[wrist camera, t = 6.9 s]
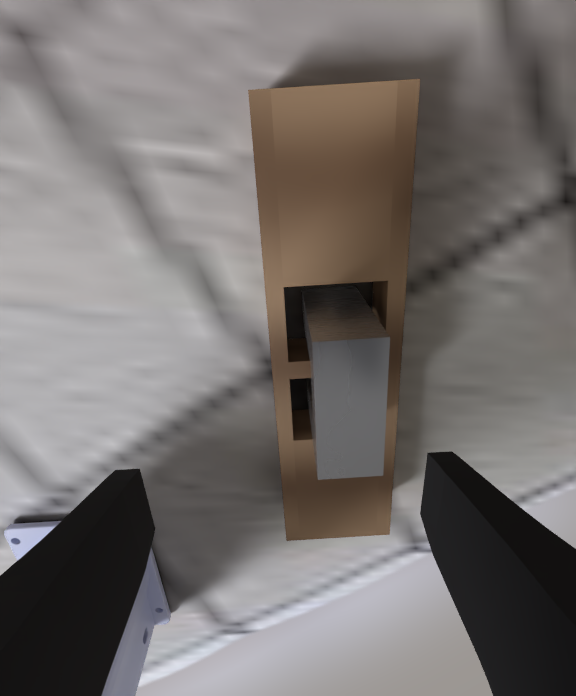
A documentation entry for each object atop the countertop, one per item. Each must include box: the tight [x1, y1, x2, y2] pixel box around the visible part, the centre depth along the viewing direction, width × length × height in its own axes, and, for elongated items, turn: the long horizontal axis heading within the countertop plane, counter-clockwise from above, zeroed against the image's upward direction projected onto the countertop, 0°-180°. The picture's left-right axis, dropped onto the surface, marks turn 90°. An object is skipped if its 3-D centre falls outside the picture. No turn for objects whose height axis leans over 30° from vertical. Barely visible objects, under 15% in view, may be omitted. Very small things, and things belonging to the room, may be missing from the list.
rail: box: [248, 79, 420, 541], centre depth 17 cm, size 20×5×2 cm, turn 3°
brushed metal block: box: [302, 286, 390, 480], centre depth 16 cm, size 6×2×6 cm, turn 4°
